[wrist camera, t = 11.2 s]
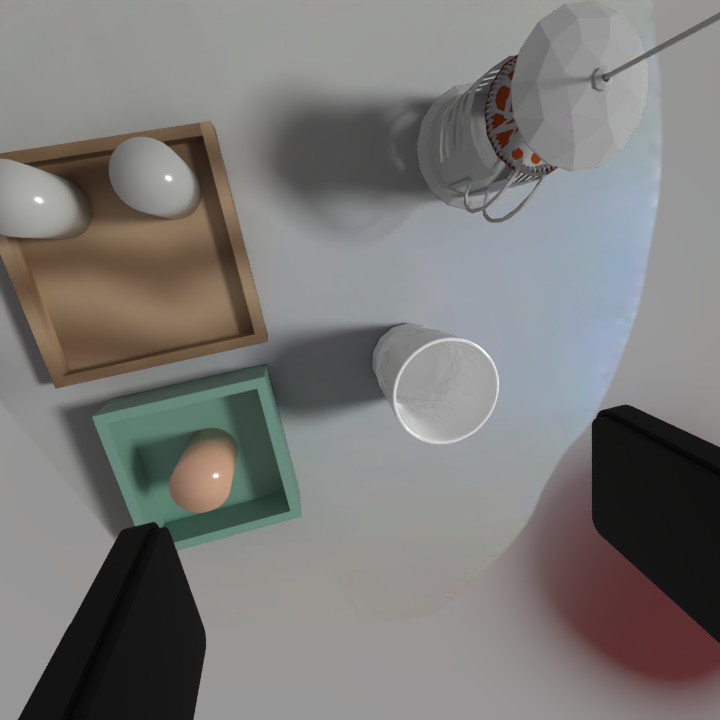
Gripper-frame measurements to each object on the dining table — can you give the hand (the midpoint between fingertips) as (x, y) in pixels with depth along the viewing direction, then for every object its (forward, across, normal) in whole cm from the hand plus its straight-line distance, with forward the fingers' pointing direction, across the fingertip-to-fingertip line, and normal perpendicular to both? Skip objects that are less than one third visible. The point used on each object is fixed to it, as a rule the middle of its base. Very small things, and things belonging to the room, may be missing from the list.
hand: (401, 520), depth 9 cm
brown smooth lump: (+28, +11, +10) cm, 32 cm away
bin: (+29, +11, +10) cm, 33 cm away
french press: (+30, -16, -10) cm, 35 cm away
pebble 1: (+29, +16, -11) cm, 35 cm away
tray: (+29, +12, -6) cm, 32 cm away
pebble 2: (+29, +8, -11) cm, 32 cm away
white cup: (+29, -8, +6) cm, 31 cm away
